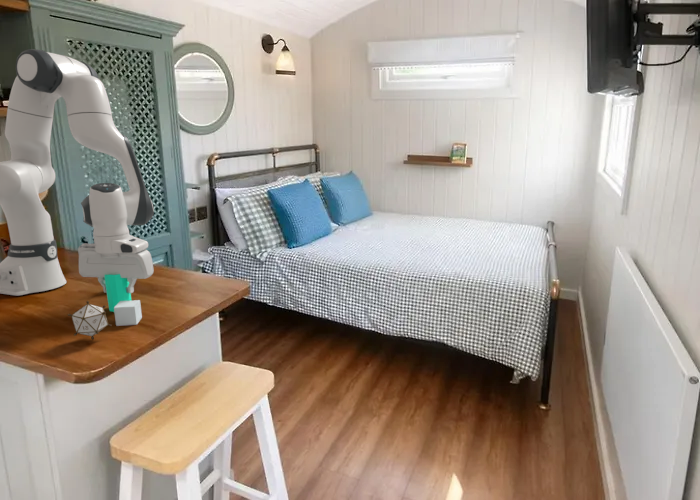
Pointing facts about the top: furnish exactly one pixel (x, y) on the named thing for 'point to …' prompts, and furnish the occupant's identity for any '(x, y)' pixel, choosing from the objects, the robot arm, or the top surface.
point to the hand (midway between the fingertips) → (119, 292)
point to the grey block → (128, 312)
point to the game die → (89, 320)
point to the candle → (116, 290)
